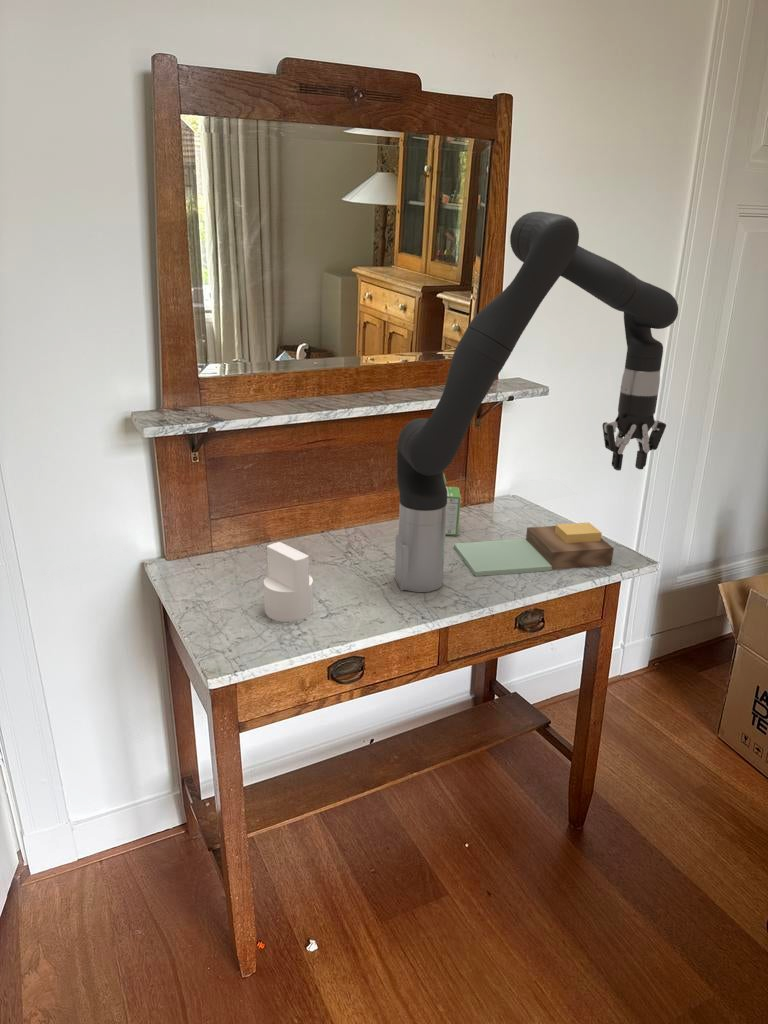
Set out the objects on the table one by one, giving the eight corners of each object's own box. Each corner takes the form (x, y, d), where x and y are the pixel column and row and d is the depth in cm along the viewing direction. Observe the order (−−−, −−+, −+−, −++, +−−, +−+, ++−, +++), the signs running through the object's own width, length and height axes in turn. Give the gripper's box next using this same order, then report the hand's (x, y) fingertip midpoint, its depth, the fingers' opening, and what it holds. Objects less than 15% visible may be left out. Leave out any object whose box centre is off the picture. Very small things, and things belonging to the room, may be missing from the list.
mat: (474, 576, 156) (475, 571, 156) (453, 547, 170) (453, 543, 169) (551, 570, 159) (552, 566, 159) (524, 542, 173) (525, 538, 173)
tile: (566, 543, 163) (567, 534, 162) (555, 532, 168) (555, 524, 168) (600, 541, 165) (601, 532, 164) (588, 530, 170) (589, 522, 169)
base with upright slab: (255, 609, 141) (252, 550, 136) (293, 594, 147) (291, 537, 142) (284, 626, 135) (282, 565, 131) (323, 610, 141) (322, 551, 136)
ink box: (458, 536, 176) (462, 481, 171) (441, 536, 176) (444, 481, 171) (456, 525, 182) (460, 472, 178) (440, 524, 182) (443, 472, 178)
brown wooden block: (550, 569, 160) (552, 552, 158) (525, 543, 173) (527, 527, 171) (611, 565, 163) (613, 548, 161) (582, 539, 175) (584, 524, 174)
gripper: (616, 395, 152) (606, 475, 158) (680, 393, 155) (667, 472, 161) (599, 387, 159) (589, 465, 165) (660, 386, 162) (649, 462, 168)
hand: (628, 468), depth 163 cm, fingers open, 4 cm apart
